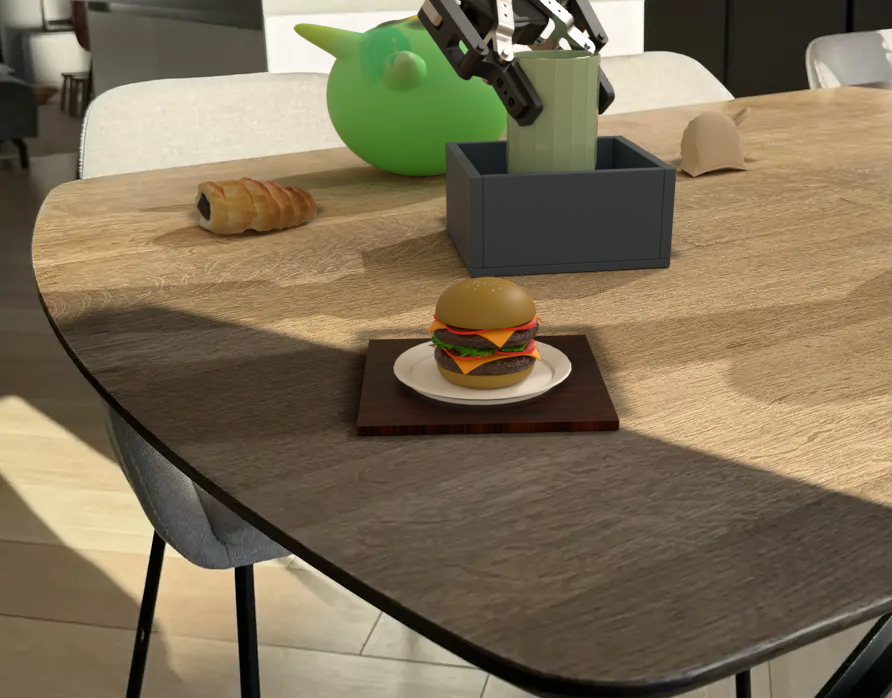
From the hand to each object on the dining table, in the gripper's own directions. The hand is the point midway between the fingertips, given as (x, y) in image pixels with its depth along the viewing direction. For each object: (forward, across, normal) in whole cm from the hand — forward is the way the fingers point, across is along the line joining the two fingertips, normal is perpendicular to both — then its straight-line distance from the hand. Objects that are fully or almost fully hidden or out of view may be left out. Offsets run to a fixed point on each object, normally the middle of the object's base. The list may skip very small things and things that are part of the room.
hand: (569, 112), depth 76 cm
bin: (+6, 0, +8) cm, 10 cm away
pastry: (-9, -12, +23) cm, 28 cm away
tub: (+2, 0, +4) cm, 5 cm away
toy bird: (-14, +10, +28) cm, 33 cm away
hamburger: (+18, -22, -4) cm, 28 cm away
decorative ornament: (-1, +31, +15) cm, 35 cm away
